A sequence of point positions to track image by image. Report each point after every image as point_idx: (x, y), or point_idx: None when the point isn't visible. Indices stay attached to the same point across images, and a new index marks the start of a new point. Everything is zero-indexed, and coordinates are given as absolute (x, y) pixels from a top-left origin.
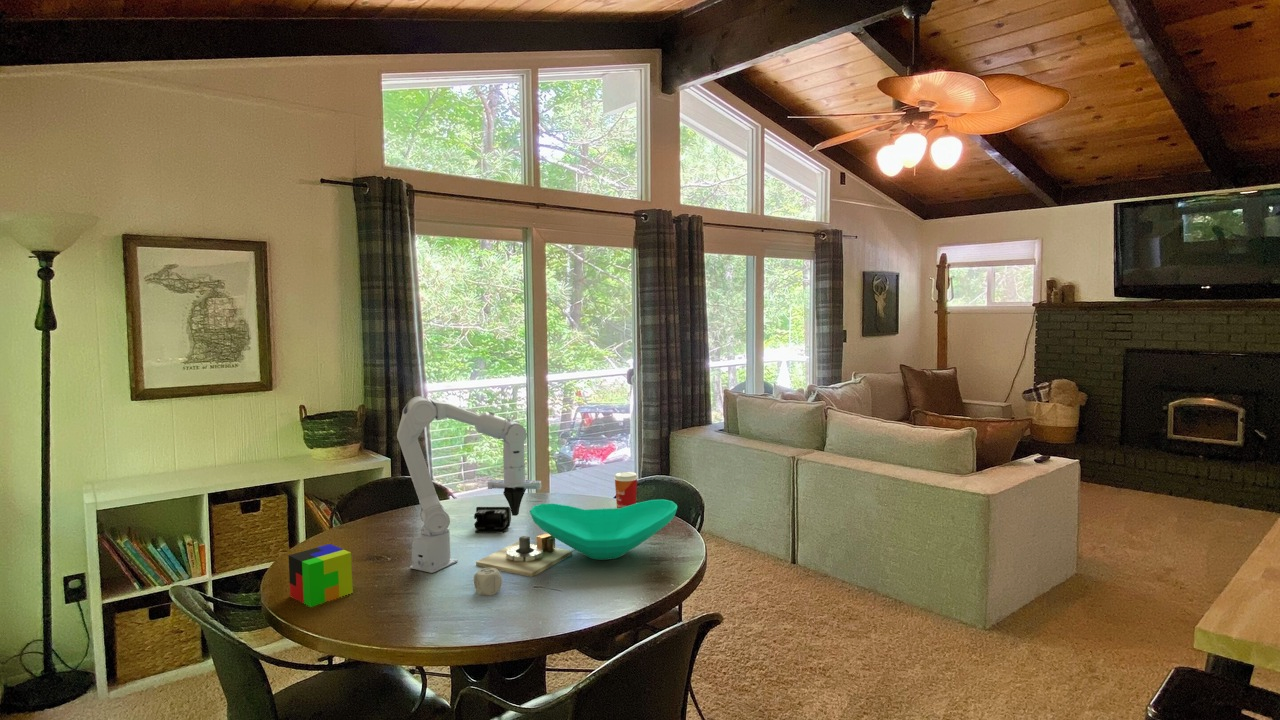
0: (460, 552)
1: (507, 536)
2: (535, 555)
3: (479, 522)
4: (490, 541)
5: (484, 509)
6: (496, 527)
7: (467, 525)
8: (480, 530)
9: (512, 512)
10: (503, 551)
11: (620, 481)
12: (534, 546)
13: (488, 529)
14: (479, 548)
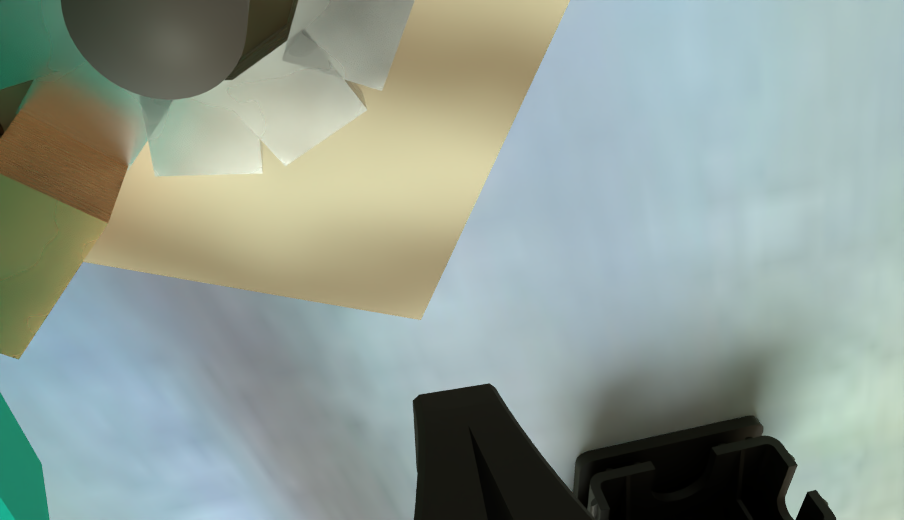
0: (854, 66)
1: (545, 411)
2: None
3: (756, 500)
4: (644, 315)
5: None
6: (642, 472)
7: (803, 485)
8: (732, 437)
9: (494, 417)
10: (481, 66)
11: None
12: (132, 124)
13: (685, 459)
14: (709, 176)
